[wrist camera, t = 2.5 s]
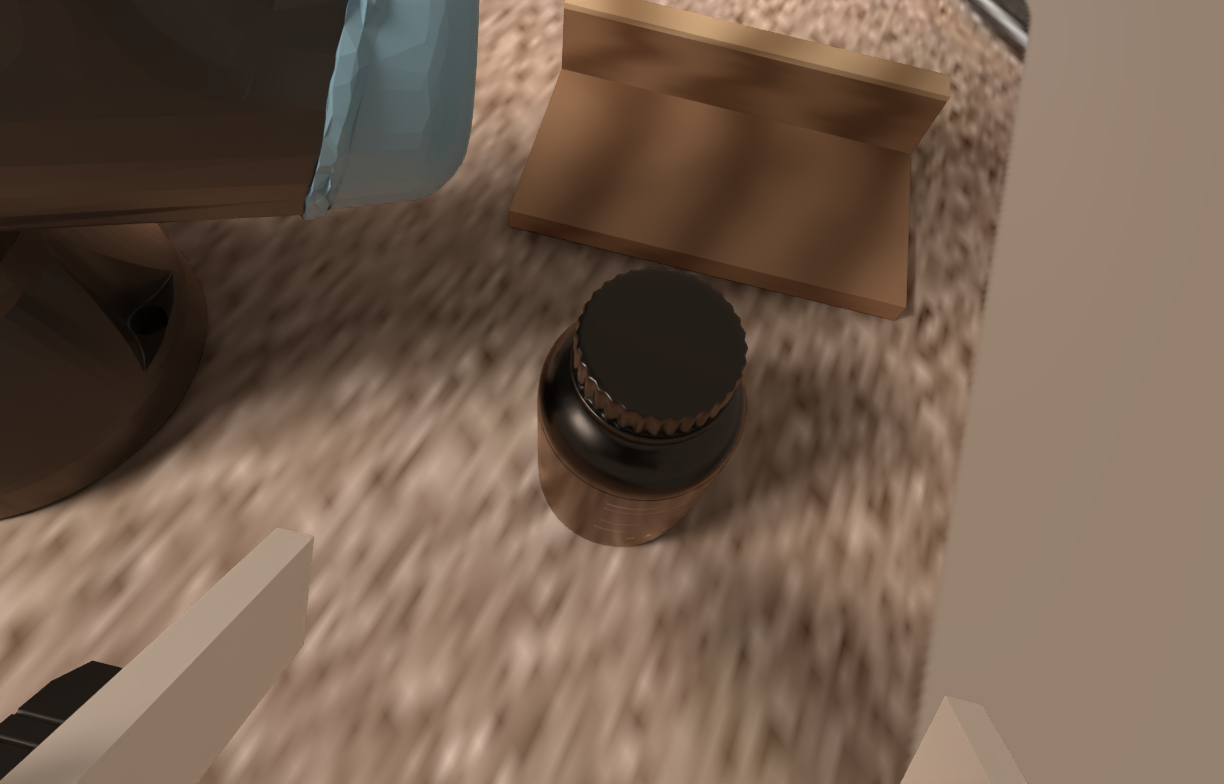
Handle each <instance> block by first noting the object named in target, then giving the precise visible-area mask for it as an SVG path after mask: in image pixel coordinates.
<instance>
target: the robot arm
mask: <svg viewBox="0 0 1224 784" xmlns="http://www.w3.org/2000/svg"><path fill="white" fill-rule="evenodd" d="M478 26H479V0H0V519H1V518H6V517H10V516H14V515H17V514H21V513H24V512H27V511H30V510H34V509H37V508H40V507H42V506H45V505H47V504H50V503H52V502H55V501H57V500H59V499H62V498H64V497H66V496H68V495H70V494H72V493H74V492H76V491H78V490H80V489H82V488H84V487H86V486H88V485H89V484H91V483H93V482H94V481H96V480H98V479H99V478H101V477H102V476H104V475H105V474H107V473H108V472H110V471H111V470H113V469H114V468H116V467H117V466H118V465H120V464H121V463H122V462H124V461H125V460H126V459H128V458H129V457H130V456H131V455H132V454H134V453H135V452H136V451H137V450H138V449H139V448H141V447H142V446H143V445H144V444H145V443H146V442H147V441H148V440H149V439H150V438H151V437H152V436H153V435H154V434H155V433H156V432H157V430H158V429H159V428H160V427H161V426H162V425H163V424H164V423H165V421H166V420H167V419H168V418H169V416H170V415H171V414H172V412H173V411H174V410H175V408H176V407H177V405H178V404H179V402H180V401H181V399H182V398H183V396H184V394H185V393H186V391H187V389H188V387H189V385H190V383H191V381H192V379H193V377H194V375H195V372H196V370H197V368H198V365H199V362H200V358H201V355H202V351H203V347H204V342H205V335H206V308H205V301H204V297H203V292H202V289H201V286H200V284H199V281H198V279H197V277H196V275H195V273H194V271H193V269H192V267H191V266H190V264H189V263H188V261H187V260H186V259H185V257H184V256H183V255H182V254H181V252H180V251H179V250H178V248H177V247H176V246H175V245H174V243H173V242H172V241H171V240H170V238H169V237H168V236H167V235H166V233H165V232H164V231H163V230H162V229H161V228H160V226H159V225H158V224H157V223H161V222H179V221H198V220H216V219H234V218H253V217H271V216H290V215H301V216H302V218H303V219H304V220H312V219H314V218H315V217H322V216H324V215H326V213H327V212H328V211H329V210H331V209H340V208H349V207H358V206H368V205H377V204H386V203H395V202H405V201H414V200H418V199H421V198H422V197H425V196H428V195H430V194H432V193H434V192H436V191H437V190H438V189H440V188H441V187H442V186H443V185H444V184H445V183H446V182H447V181H448V180H449V179H450V178H451V177H452V176H453V175H454V174H455V172H456V171H457V169H458V167H459V166H460V165H461V164H462V161H463V159H464V157H465V154H466V150H467V147H468V143H469V138H470V133H471V126H472V118H473V106H474V95H475V83H476V67H477V46H478ZM313 540H314V536H310V535H306V534H302V533H298V532H294V531H290V530H286V529H282V528H278V527H277V528H276V529H275V530H274V531H273V532H272V533H270V534H269V535H268V536H267V537H266V538H265V539H264V540H263V541H262V542H261V543H259V544H258V545H257V546H256V547H255V548H254V549H253V550H252V551H251V552H250V553H249V554H247V555H246V556H245V557H244V558H243V559H242V560H241V561H240V562H239V563H238V564H237V565H235V566H234V567H233V568H232V569H231V570H230V571H229V572H228V573H227V574H226V575H225V576H223V577H222V578H221V579H220V580H219V581H218V582H217V583H216V584H215V585H214V586H213V587H211V588H210V589H209V590H208V591H207V592H206V593H205V594H204V595H203V596H202V597H200V598H199V599H198V600H197V601H196V602H195V603H194V604H193V605H192V606H191V607H190V608H188V609H187V610H186V611H185V612H184V613H183V614H182V615H181V616H180V617H179V618H178V619H176V620H175V621H174V622H173V623H172V624H171V625H170V626H169V627H168V628H167V629H166V630H164V631H163V632H162V633H161V634H160V635H159V636H158V637H157V638H156V639H155V640H153V641H152V642H151V643H150V644H149V645H148V646H147V647H146V648H145V649H144V650H143V651H141V652H140V653H139V654H138V655H137V656H136V657H135V658H134V659H133V660H132V661H131V662H129V663H128V664H127V665H126V666H125V667H124V668H120V667H116V666H112V665H108V664H104V663H100V662H96V661H91V662H89V663H87V664H85V665H83V666H81V667H79V668H77V669H75V670H73V671H71V672H69V673H67V674H65V675H63V676H61V677H59V678H57V679H55V680H53V681H51V682H50V683H49V684H47V685H46V686H45V687H44V688H43V689H41V690H40V691H39V692H38V693H37V694H35V695H34V696H33V697H32V698H30V699H29V700H28V701H27V702H26V703H24V704H23V705H22V706H21V707H20V708H18V711H17V713H16V714H15V715H13V714H11V715H10V716H9V717H8V718H6V719H5V720H4V721H3V722H2V723H0V784H197V782H198V781H199V780H200V778H201V777H202V776H203V775H204V773H205V772H206V771H207V769H208V768H209V767H210V765H211V764H212V763H213V762H214V760H215V759H216V758H217V756H218V755H219V754H220V752H221V751H222V750H223V749H224V747H225V746H226V745H227V743H228V742H229V741H230V739H231V738H232V737H233V736H234V734H235V733H236V732H237V730H238V729H239V728H240V726H241V725H242V724H243V723H244V721H245V720H246V719H247V717H248V716H249V715H250V713H251V712H252V711H253V710H254V708H255V707H256V706H257V704H258V703H259V702H260V700H261V699H262V698H263V697H264V695H265V694H266V693H267V691H268V690H269V689H270V687H271V686H272V685H273V684H274V682H275V681H276V680H277V678H278V677H279V676H280V674H281V673H282V672H283V671H284V669H285V668H286V667H287V665H288V664H289V663H290V661H291V660H292V659H293V658H294V656H295V655H296V654H297V652H298V651H299V650H300V648H301V647H302V646H303V644H304V634H305V624H306V613H307V603H308V592H309V582H310V572H311V561H312V551H313ZM900 784H1028V783H1027V781H1026V780H1025V778H1024V776H1023V774H1022V773H1021V771H1020V769H1019V767H1018V766H1017V764H1016V762H1015V760H1014V759H1013V757H1012V756H1011V754H1010V752H1009V750H1008V748H1007V747H1006V745H1005V743H1004V741H1003V740H1002V738H1001V736H1000V734H999V733H998V731H997V729H996V728H995V726H994V724H993V722H992V721H991V719H990V717H989V715H988V714H987V712H986V710H985V709H984V707H983V705H982V704H978V703H974V702H970V701H966V700H962V699H958V698H954V697H950V696H946V695H945V697H944V699H943V701H942V703H941V705H940V706H939V708H938V710H937V712H936V714H935V716H934V718H933V720H932V722H931V724H930V726H929V728H928V730H927V732H926V734H925V736H924V738H923V740H922V742H921V744H920V746H919V748H918V750H917V752H916V754H915V756H914V758H913V760H912V761H911V763H910V765H909V767H908V769H907V771H906V773H905V775H904V777H903V779H902V781H901V783H900Z"/></svg>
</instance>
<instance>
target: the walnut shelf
mask: <svg viewBox="0 0 1224 784" xmlns="http://www.w3.org/2000/svg"><path fill="white" fill-rule="evenodd" d="M949 98H950V75H946V74H942V73H938V72H933V71H929V70H925V69H921V68H917V67H913V66H909V65H905V64H901V63H897V62H893V61H888V60H884V59H880V58H876V57H872V56H868V55H864V54H860V53H856V52H852V51H847V50H843V49H839V48H835V47H831V46H827V45H823V44H819V43H815V42H811V41H807V40H802V39H798V38H794V37H790V36H786V35H782V34H778V33H774V32H770V31H766V30H761V29H757V28H753V27H749V26H745V25H741V24H737V23H733V22H729V21H725V20H721V19H716V18H712V17H708V16H704V15H700V14H696V13H692V12H688V11H684V10H680V9H675V8H671V7H667V6H663V5H659V4H655V3H651V2H647V1H643V0H565V2H564V25H563V50H562V70H561V72H560V75H559V78H558V80H557V83H556V86H555V88H554V91H553V94H552V96H551V99H550V102H549V104H548V107H547V110H546V112H545V115H544V118H543V120H542V123H541V126H540V128H539V131H538V134H537V136H536V139H535V142H534V145H533V147H532V150H531V153H530V155H529V158H528V161H527V163H526V166H525V169H524V171H523V174H522V177H521V179H520V182H519V185H518V187H517V190H516V193H515V195H514V198H513V201H512V203H511V206H510V209H509V221H510V226H511V227H515V228H519V229H523V230H527V231H532V232H536V233H540V234H544V235H548V236H552V237H556V238H560V239H564V240H568V241H572V242H576V243H580V244H585V245H589V246H593V247H597V248H601V249H605V250H609V251H613V252H617V253H621V254H625V255H629V256H633V257H638V258H642V259H646V260H650V261H654V262H658V263H662V264H666V265H670V266H674V267H678V268H682V269H686V270H691V271H695V272H699V273H703V274H707V275H711V276H715V277H719V278H723V279H727V280H731V281H735V282H739V283H744V284H748V285H752V286H756V287H760V288H764V289H768V290H772V291H776V292H780V293H784V294H788V295H792V296H797V297H801V298H805V299H809V300H813V301H817V302H821V303H825V304H829V305H833V306H837V307H841V308H845V309H850V310H854V311H858V312H862V313H866V314H870V315H874V316H878V317H882V318H886V319H890V320H895V319H896V318H897V317H898V316H899V315H900V314H901V313H902V312H903V311H904V310H905V309H906V299H907V268H908V237H909V206H910V175H911V154H912V152H913V151H914V149H915V148H916V146H917V145H918V143H919V142H920V140H921V139H922V138H923V136H924V135H925V133H926V132H927V130H928V129H929V127H930V126H931V124H932V123H933V121H934V120H935V118H936V117H937V115H938V114H939V113H940V111H941V110H942V108H943V107H944V105H945V104H946V102H947V101H948V99H949Z"/></svg>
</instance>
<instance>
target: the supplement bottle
mask: <svg viewBox="0 0 1224 784" xmlns="http://www.w3.org/2000/svg"><path fill="white" fill-rule="evenodd" d="M745 335H746V332H745V331H744V329H743V328H742V327H741V320H740V318H739V317H738V315H737V314H735V313H734V309H733V306H732V305H731V304H730V303H729V302H727V301H726V300H725V299H724V296H723V295H722V293H720V292H718V291H716V290H714V289H713V288H712V286H711V285H710V284H709V283H706V282H703V281H701V280H699V279H698V278H697V277H696V276H694V275H687V274H685V273H684V272H682V271H680V270H673V271H672V270H669V269H667V268H659V269H653V268H650V267H648V268H645V269H643V270H631V271H630V272H628V273H627V274H620V275H617V276H616V277H615V278H614V279H613V280H611V281H607V282H605V283H604V284H603V286H602V288H601V289H599V290H597V291H595V292H594V293H593V295H592V298H591V300H590V301H588V302H587V303H586V304H585V305H584V308H583V313H582V314H581V316H580V317H579V318H578V320H577V321H576V322H575V323H573V324H572V325H571V326H570V327H569V328H567V329H566V330H565V331H564V332H563V333H562V335H561V336H560V337H559V338H558V339H557V341H556V342H555V344H554V345H553V347H552V348H551V350H550V352H549V353H548V355H547V357H546V360H545V362H544V365H543V368H542V371H541V375H540V381H539V387H538V468H539V478H540V483H541V487H542V491H543V493H544V496H545V498H546V500H547V502H548V504H549V506H550V508H551V509H552V511H553V512H554V514H555V515H556V516H557V518H558V519H559V520H560V521H561V522H562V523H563V524H564V525H565V526H566V527H568V528H569V529H570V530H571V531H573V532H574V533H576V534H577V535H579V536H581V537H583V538H585V539H587V540H589V541H592V542H595V543H598V544H602V545H607V546H616V547H624V546H633V545H639V544H642V543H646V542H648V541H651V540H653V539H655V538H657V537H659V536H661V535H662V534H664V533H665V532H667V531H668V530H669V529H671V528H672V527H673V526H674V525H675V524H676V523H677V522H678V521H679V520H680V519H681V518H682V517H683V516H684V515H685V514H686V512H687V511H688V510H689V509H690V507H691V506H692V505H693V504H694V502H695V501H696V500H697V499H698V498H699V496H700V495H701V494H702V493H703V491H704V490H705V489H706V488H707V486H708V485H709V484H710V483H711V482H712V480H713V479H714V478H715V477H716V475H717V474H718V473H719V472H720V471H721V469H722V468H723V467H724V465H725V464H726V463H727V462H728V460H729V458H730V457H731V455H732V454H733V452H734V450H735V449H736V447H737V445H738V443H739V441H740V438H741V435H742V433H743V429H744V425H745V421H746V412H747V397H746V389H745V384H744V380H743V377H742V371H743V370H744V368H745V367H746V363H747V362H746V357H745V355H746V353H747V350H748V347H747V344H746V342H745Z"/></svg>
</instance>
